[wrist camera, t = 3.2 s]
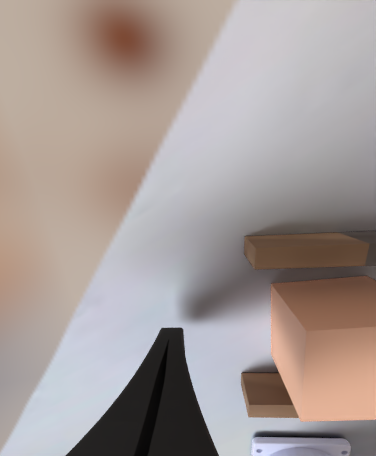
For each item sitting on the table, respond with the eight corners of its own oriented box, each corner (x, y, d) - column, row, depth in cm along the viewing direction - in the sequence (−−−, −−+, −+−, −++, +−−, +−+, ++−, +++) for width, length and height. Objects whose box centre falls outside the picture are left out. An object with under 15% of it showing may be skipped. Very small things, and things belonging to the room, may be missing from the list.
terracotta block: (353, 346, 13) (421, 418, 9) (269, 351, 13) (300, 421, 9) (363, 274, 11) (452, 322, 7) (269, 281, 12) (306, 330, 8)
